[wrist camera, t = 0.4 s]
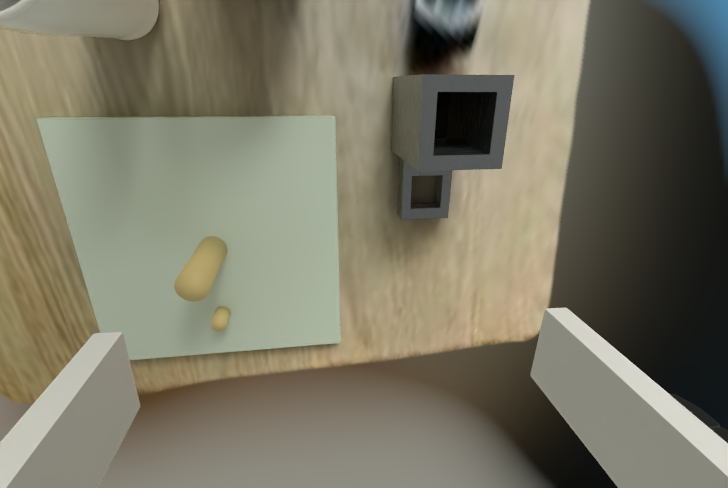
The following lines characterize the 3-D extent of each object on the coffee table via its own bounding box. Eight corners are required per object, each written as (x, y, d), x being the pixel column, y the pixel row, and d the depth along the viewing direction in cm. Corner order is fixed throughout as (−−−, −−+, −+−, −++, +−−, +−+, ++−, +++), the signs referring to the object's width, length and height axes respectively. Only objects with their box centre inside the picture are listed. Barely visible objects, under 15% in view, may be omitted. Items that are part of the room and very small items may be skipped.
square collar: (393, 77, 33) (423, 74, 24) (462, 77, 33) (514, 75, 25) (389, 214, 37) (413, 252, 29) (450, 212, 38) (490, 247, 30)
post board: (48, 117, 30) (-41, 128, 22) (333, 115, 33) (343, 124, 25) (115, 352, 38) (67, 419, 31) (339, 334, 41) (347, 392, 34)
